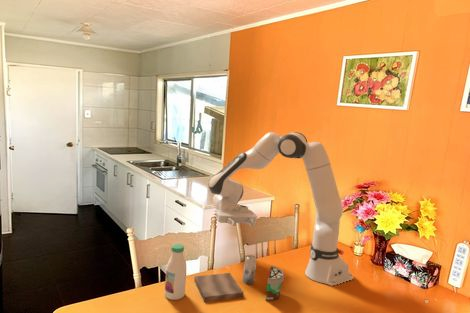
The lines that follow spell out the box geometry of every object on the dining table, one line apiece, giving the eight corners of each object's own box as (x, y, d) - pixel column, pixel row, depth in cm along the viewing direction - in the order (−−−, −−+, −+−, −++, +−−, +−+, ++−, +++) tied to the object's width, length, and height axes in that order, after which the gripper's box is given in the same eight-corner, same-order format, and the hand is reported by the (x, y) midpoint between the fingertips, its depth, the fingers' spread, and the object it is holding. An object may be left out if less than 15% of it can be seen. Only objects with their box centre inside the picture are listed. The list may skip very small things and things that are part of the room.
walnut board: (229, 277, 147) (229, 272, 147) (243, 296, 133) (243, 292, 132) (194, 280, 142) (194, 276, 141) (204, 301, 127) (204, 297, 127)
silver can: (251, 277, 148) (253, 254, 147) (256, 283, 144) (258, 259, 142) (241, 279, 147) (243, 255, 145) (245, 284, 142) (247, 260, 141)
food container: (281, 305, 129) (283, 281, 127) (265, 302, 130) (267, 278, 129) (282, 289, 141) (285, 267, 139) (268, 287, 142) (270, 264, 141)
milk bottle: (182, 288, 135) (186, 241, 132) (186, 299, 127) (189, 249, 125) (163, 290, 132) (166, 242, 129) (165, 301, 125) (169, 250, 122)
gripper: (213, 204, 158) (224, 217, 146) (249, 206, 167) (263, 218, 155) (210, 217, 159) (221, 230, 147) (246, 217, 169) (260, 230, 157)
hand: (243, 224), depth 151 cm, fingers open, 8 cm apart
